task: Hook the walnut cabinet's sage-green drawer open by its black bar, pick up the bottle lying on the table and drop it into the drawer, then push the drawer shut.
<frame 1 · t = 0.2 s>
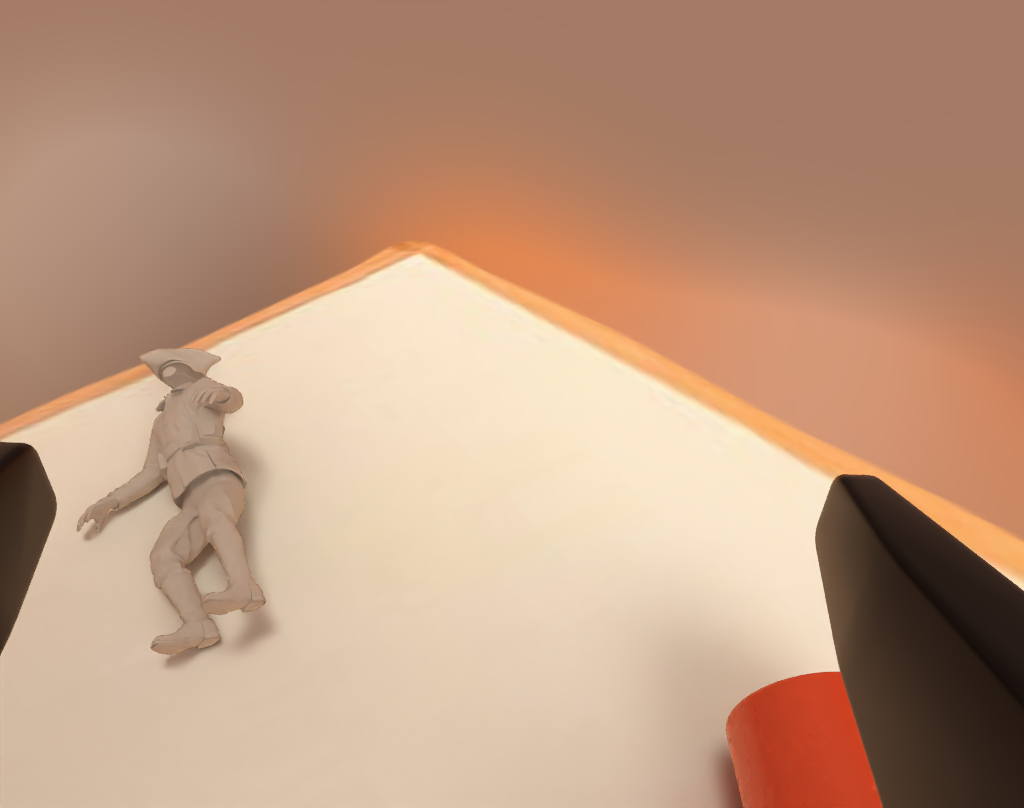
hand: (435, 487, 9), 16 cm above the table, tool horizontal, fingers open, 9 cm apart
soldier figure: (206, 526, 30), on the table
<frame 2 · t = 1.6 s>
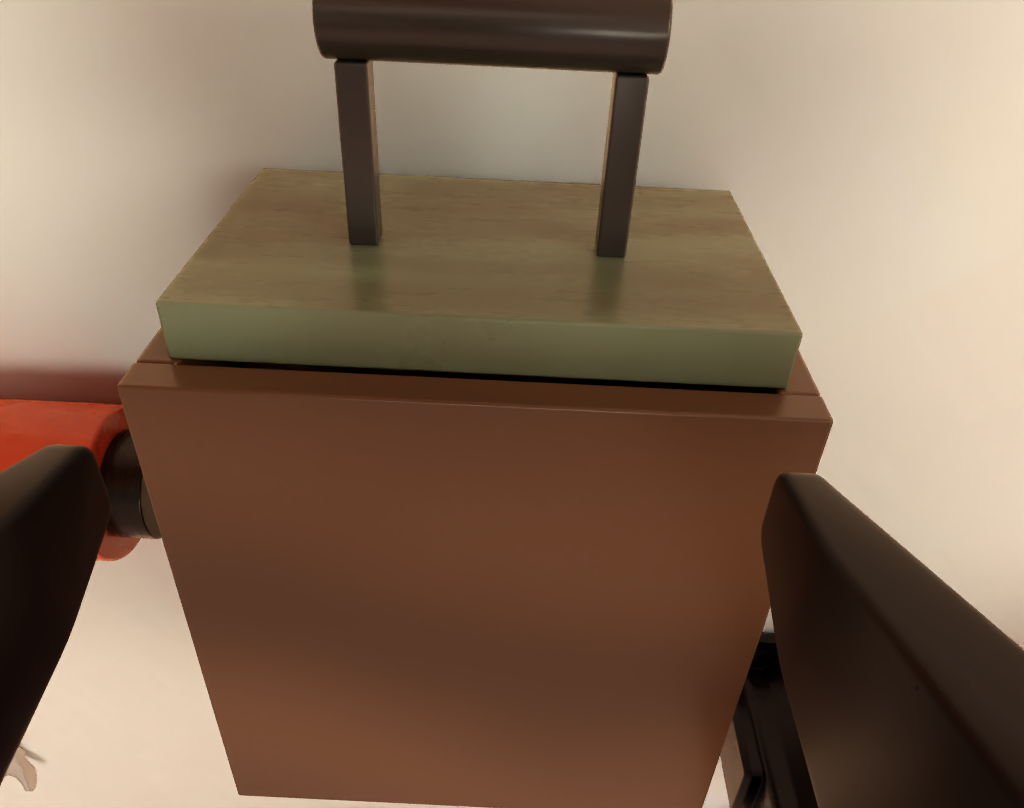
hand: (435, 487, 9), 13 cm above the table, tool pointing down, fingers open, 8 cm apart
bottle: (78, 465, 26), on the table, tilted 31°
cabinet: (490, 419, 25), on the table
drawer: (485, 386, 19), point 4 cm above the table, slide at 0.0 cm
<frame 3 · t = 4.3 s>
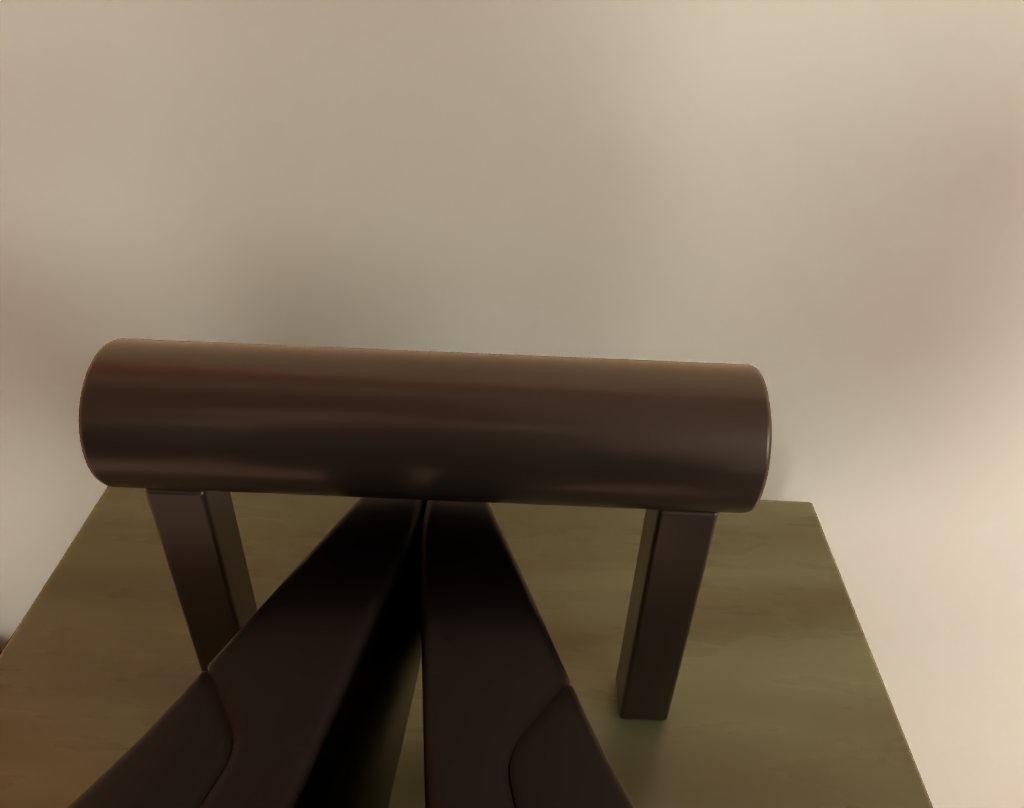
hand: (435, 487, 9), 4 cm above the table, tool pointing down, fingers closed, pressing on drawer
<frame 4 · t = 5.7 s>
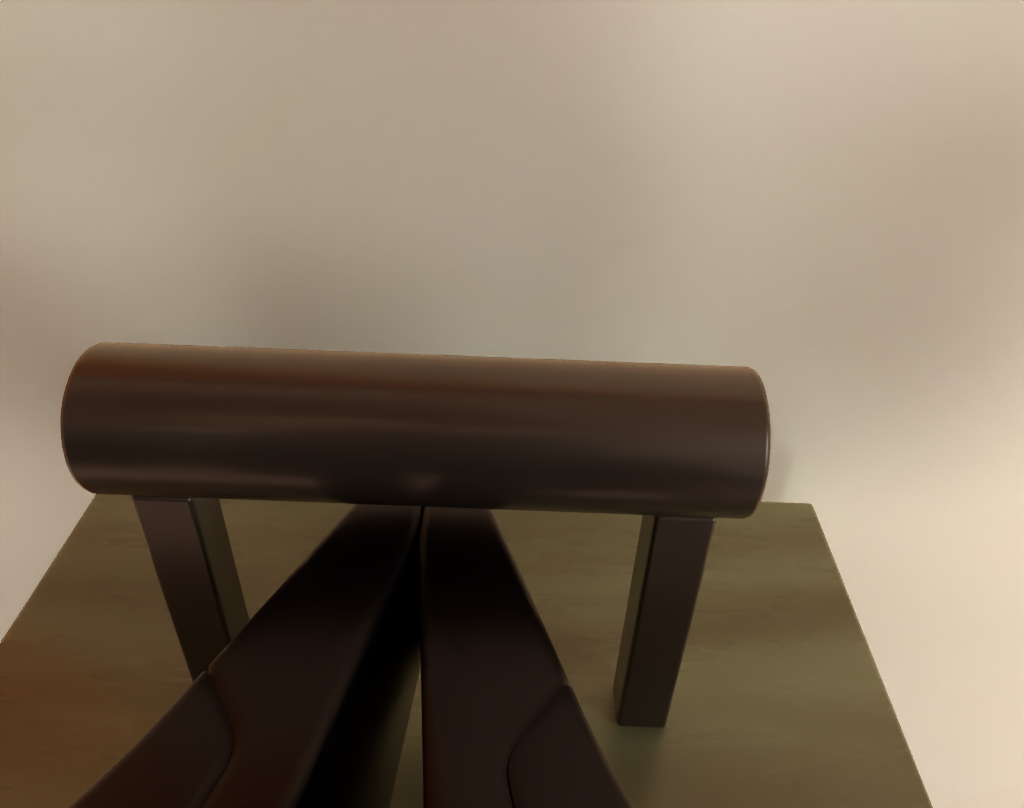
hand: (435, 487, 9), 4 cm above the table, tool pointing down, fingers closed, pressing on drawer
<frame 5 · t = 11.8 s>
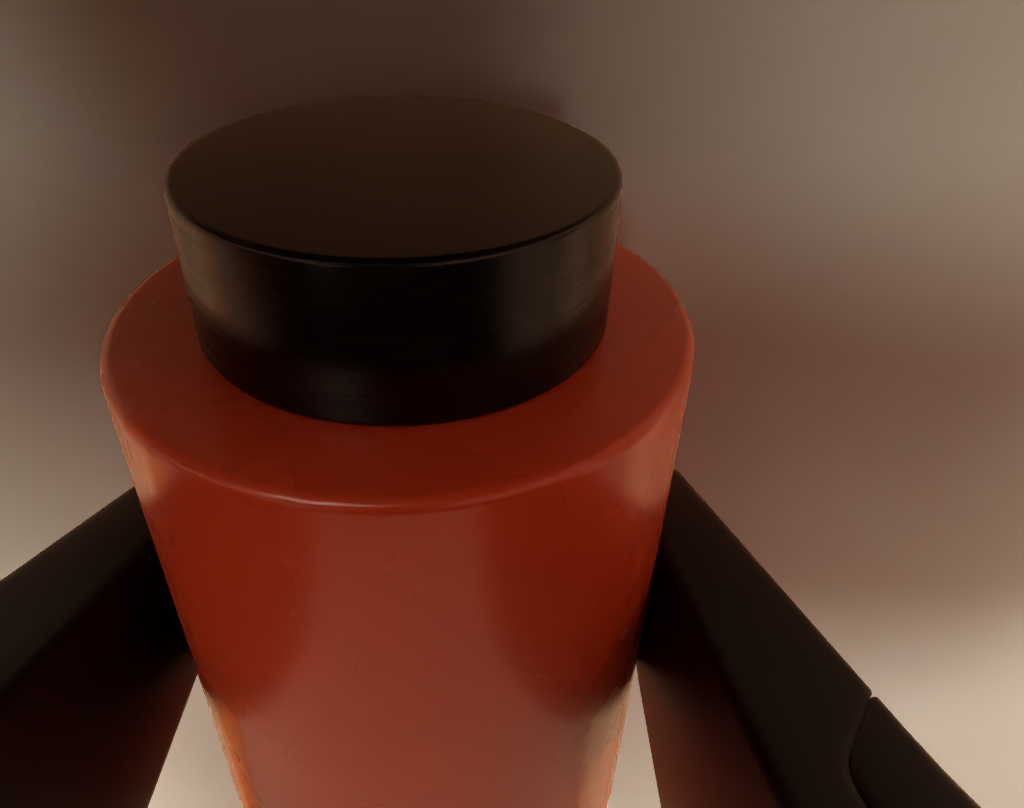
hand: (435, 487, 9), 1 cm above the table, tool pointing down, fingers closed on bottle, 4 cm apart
bottle: (465, 399, 10), on the table, tilted 7°, touching gripper
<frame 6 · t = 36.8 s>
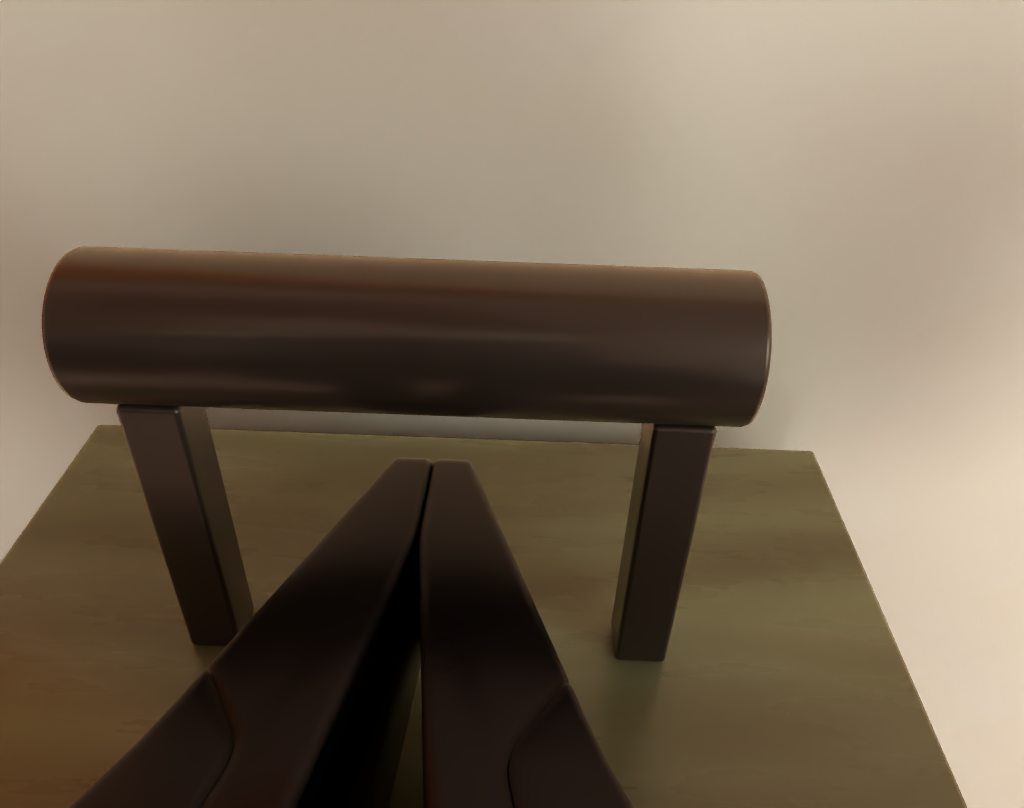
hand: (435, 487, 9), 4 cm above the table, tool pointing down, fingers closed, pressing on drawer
drawer: (441, 769, 12), point 4 cm above the table, slide at 5.8 cm, touching gripper, bottle
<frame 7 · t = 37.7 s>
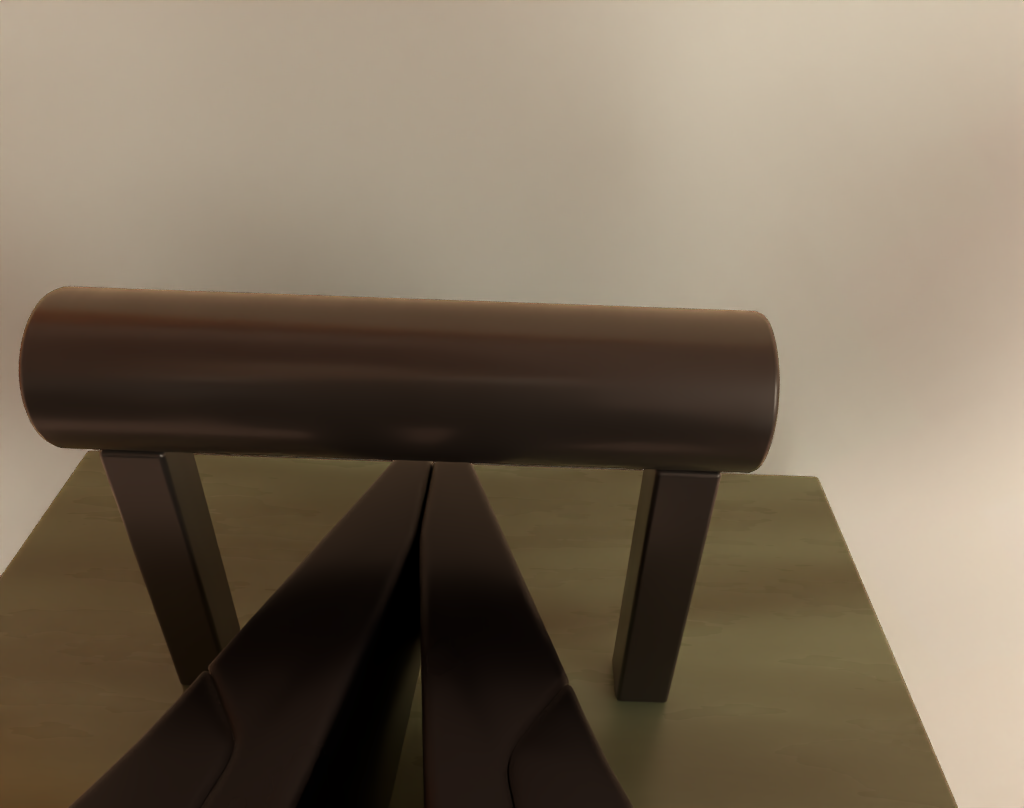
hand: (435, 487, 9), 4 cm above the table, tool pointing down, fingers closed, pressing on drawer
drawer: (438, 803, 12), point 4 cm above the table, slide at 2.1 cm, touching gripper, bottle
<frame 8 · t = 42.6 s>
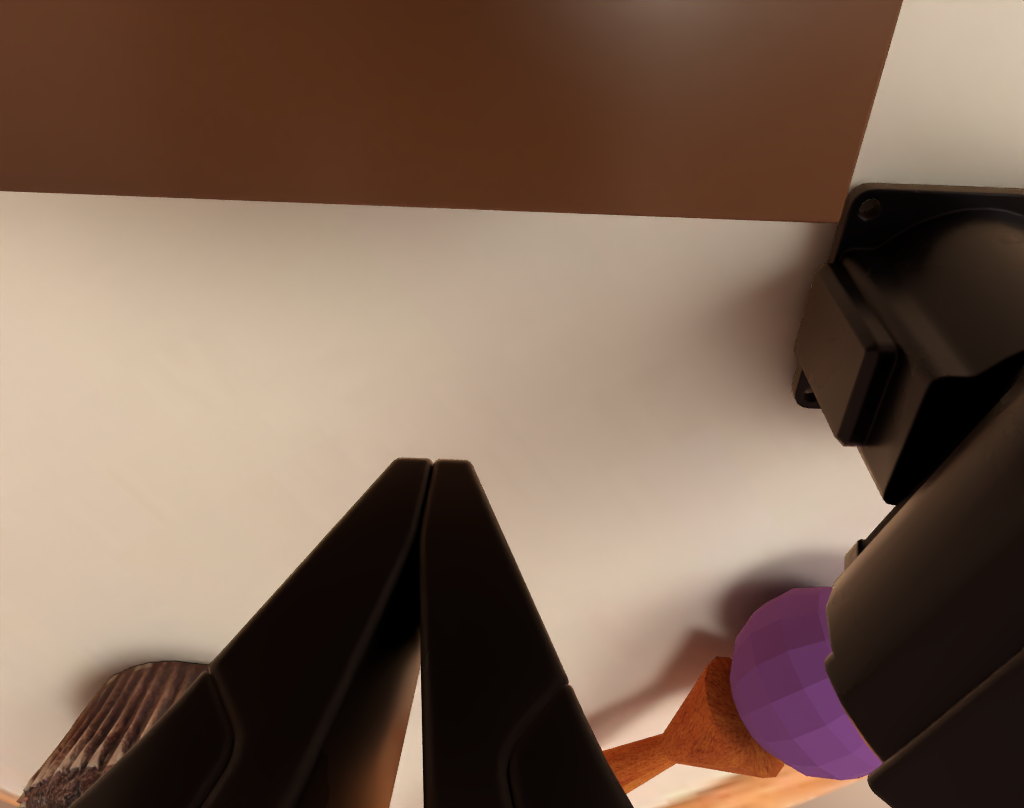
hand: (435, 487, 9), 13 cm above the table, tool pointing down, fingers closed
cupcake: (197, 713, 34), on the table
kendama: (656, 689, 32), on the table
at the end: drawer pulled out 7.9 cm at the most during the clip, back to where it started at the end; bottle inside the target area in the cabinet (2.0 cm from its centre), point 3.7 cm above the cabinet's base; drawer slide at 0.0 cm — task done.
